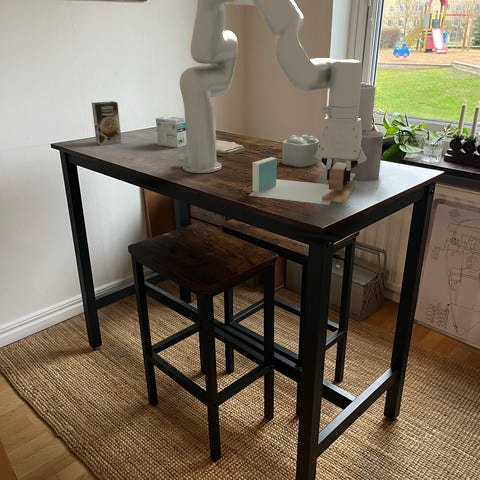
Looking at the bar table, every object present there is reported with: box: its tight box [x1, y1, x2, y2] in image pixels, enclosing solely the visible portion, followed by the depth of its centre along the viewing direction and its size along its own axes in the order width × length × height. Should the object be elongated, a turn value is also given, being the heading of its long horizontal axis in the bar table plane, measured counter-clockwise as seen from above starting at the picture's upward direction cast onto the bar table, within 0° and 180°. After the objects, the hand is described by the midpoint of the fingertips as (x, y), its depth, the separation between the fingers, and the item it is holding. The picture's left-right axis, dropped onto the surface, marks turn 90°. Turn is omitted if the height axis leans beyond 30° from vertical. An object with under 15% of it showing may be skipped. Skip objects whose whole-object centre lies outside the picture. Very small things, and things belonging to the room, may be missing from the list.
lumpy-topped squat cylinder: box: [281, 134, 320, 168], centre depth 162 cm, size 10×13×9 cm
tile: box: [252, 156, 278, 192], centre depth 133 cm, size 2×8×8 cm, turn 138°
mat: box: [248, 178, 332, 206], centre depth 132 cm, size 22×17×1 cm
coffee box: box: [91, 101, 123, 146], centre depth 192 cm, size 9×6×16 cm
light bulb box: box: [155, 115, 187, 148], centre depth 188 cm, size 11×7×11 cm, turn 58°
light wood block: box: [328, 162, 355, 190], centre depth 128 cm, size 14×6×5 cm, turn 158°
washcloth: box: [216, 139, 246, 157], centre depth 180 cm, size 12×18×3 cm, turn 50°
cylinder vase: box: [333, 83, 377, 166], centre depth 155 cm, size 12×12×25 cm
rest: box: [322, 183, 354, 203], centre depth 128 cm, size 6×12×2 cm, turn 158°
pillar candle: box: [351, 129, 385, 182], centre depth 141 cm, size 10×10×15 cm
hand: (338, 182), depth 126 cm, fingers closed on light wood block, 3 cm apart
